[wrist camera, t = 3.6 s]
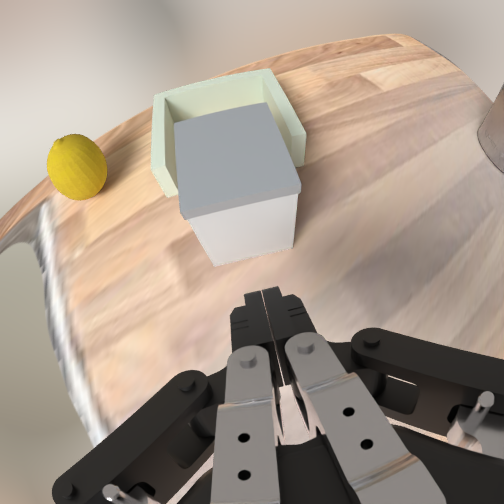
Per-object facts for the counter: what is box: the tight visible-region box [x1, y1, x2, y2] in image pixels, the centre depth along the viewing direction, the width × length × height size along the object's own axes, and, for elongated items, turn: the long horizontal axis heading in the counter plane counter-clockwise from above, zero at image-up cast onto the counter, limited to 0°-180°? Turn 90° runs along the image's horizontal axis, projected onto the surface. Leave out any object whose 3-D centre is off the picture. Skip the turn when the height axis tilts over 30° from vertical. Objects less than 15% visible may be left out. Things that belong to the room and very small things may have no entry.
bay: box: [151, 68, 306, 198], centre depth 25 cm, size 12×11×4 cm
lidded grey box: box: [174, 102, 301, 267], centre depth 19 cm, size 6×7×8 cm
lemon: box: [47, 134, 107, 200], centre depth 22 cm, size 6×6×8 cm
